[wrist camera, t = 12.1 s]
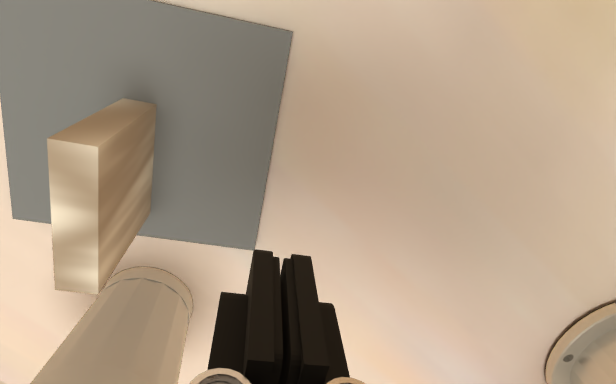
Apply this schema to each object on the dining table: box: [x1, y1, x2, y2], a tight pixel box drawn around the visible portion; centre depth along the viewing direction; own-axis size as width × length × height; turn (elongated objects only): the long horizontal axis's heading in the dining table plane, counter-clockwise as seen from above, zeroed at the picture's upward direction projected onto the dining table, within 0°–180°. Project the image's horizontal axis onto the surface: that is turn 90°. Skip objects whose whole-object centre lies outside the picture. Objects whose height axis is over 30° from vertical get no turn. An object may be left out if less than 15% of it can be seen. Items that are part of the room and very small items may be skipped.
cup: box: [30, 267, 193, 384], centre depth 23 cm, size 8×8×12 cm
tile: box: [47, 98, 157, 295], centre depth 20 cm, size 2×8×7 cm
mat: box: [0, 0, 293, 250], centre depth 23 cm, size 15×14×1 cm
